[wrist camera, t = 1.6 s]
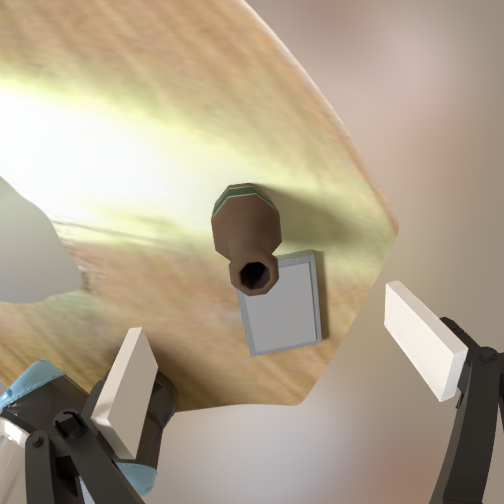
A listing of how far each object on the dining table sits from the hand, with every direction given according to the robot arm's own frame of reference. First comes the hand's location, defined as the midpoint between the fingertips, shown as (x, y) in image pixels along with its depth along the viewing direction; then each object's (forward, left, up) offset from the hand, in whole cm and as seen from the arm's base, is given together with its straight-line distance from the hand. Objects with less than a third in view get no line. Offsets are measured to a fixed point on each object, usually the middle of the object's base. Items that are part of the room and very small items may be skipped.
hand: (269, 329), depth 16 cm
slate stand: (+3, -16, -31) cm, 35 cm away
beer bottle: (0, 0, -31) cm, 31 cm away
